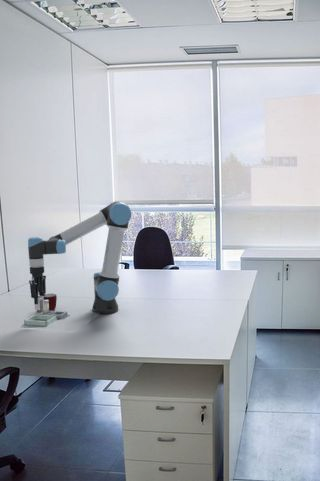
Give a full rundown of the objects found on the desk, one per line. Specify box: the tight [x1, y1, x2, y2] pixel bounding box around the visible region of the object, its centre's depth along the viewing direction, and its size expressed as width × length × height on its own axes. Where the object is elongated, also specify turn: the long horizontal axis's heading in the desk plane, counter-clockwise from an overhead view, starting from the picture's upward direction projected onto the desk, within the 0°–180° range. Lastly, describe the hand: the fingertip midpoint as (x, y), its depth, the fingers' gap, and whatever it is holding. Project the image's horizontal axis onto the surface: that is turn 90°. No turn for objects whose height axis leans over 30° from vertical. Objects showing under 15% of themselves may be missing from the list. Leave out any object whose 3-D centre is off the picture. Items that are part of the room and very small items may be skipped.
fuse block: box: [42, 310, 71, 320], centre depth 268 cm, size 18×8×3 cm, turn 73°
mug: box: [43, 293, 58, 311], centre depth 281 cm, size 11×8×10 cm
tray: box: [23, 314, 58, 327], centre depth 258 cm, size 14×11×3 cm
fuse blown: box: [35, 297, 43, 315], centre depth 257 cm, size 4×4×9 cm
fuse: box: [42, 300, 49, 314], centre depth 269 cm, size 4×4×9 cm
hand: (39, 308), depth 257 cm, fingers closed on fuse blown, 3 cm apart
